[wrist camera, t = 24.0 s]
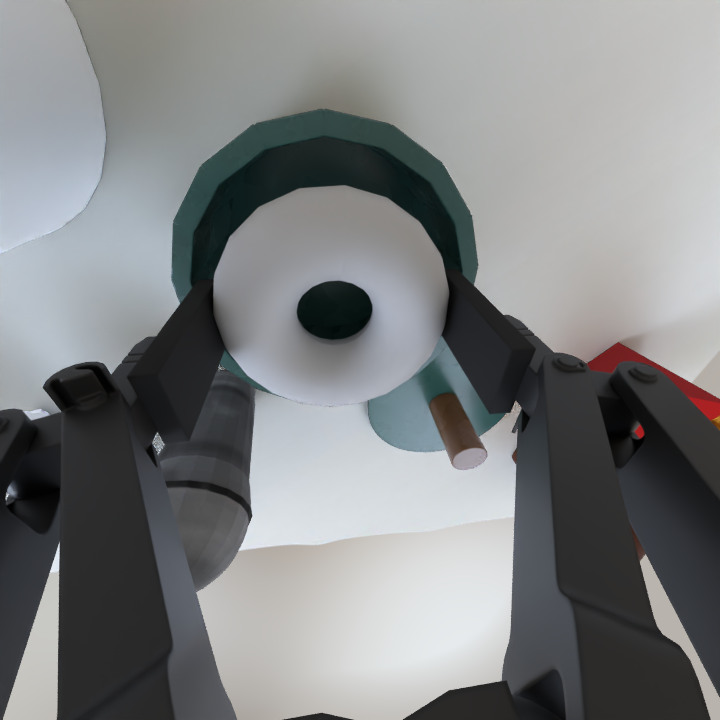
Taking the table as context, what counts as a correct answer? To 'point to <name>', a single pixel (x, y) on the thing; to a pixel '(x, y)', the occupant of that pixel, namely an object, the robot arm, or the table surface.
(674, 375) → the french fries
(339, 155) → the tin
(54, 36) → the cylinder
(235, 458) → the beverage cup
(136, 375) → the robot arm
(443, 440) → the tin lid
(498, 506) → the table surface
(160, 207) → the table surface
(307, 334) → the donut
